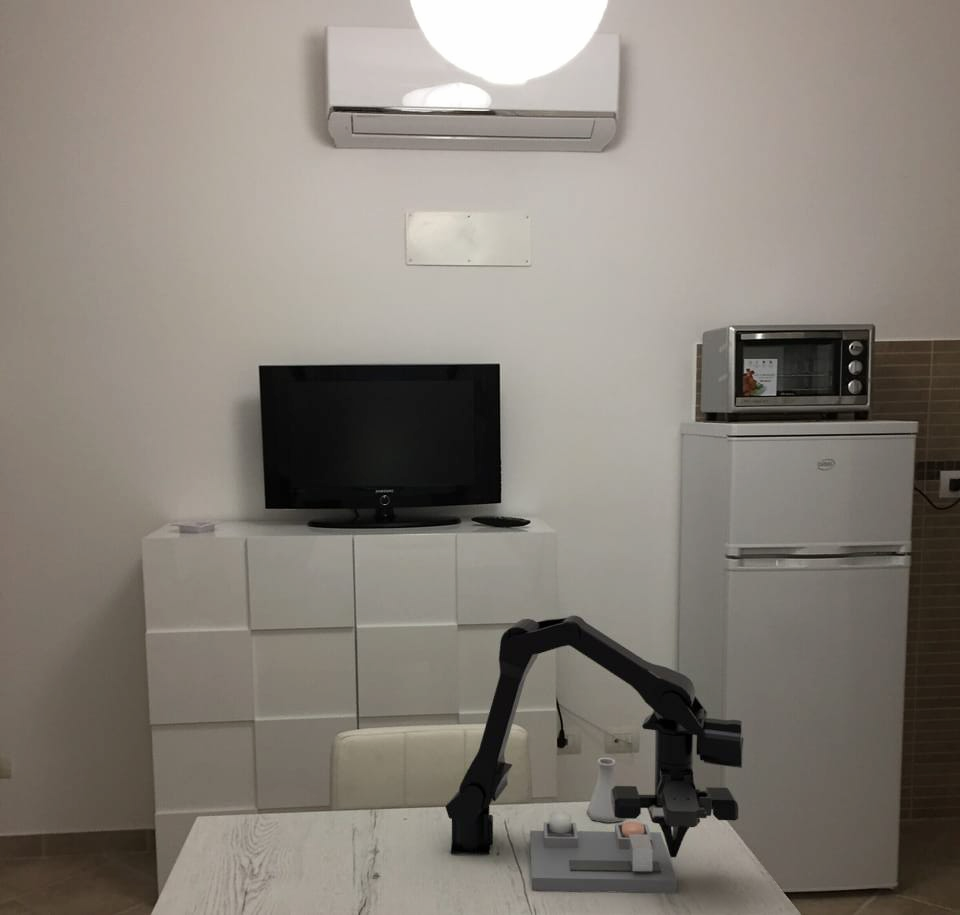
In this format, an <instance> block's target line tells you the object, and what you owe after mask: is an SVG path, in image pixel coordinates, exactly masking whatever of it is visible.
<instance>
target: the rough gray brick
mask: <svg viewBox="0 0 960 915" xmlns="http://www.w3.org/2000/svg"><path fill="white" fill-rule="evenodd" d="M629 859H630V863H631V867H632V871H652V845H651V842H650V839H649V836H648V835H640V834H629Z"/></svg>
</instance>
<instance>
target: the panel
mask: <svg viewBox="0 0 960 915" xmlns="http://www.w3.org/2000/svg"><path fill="white" fill-rule="evenodd" d="M624 823H625V822H621V823H620V822H619V823H618V822H614V831H603V830H602V831H597V830H596V831H590V830H589V831H587V830H584V831H583V830H580V831H579V830H578V829H577V823H576V822H571V830H570V831H569V832H566V833H556V832H553V831H551V830H550V821H549V822H543V830H529V845H530V847H529V849H530V874H531V876H530V878H531V879H530V882H531V891H532V890H538V891H539V892H546V891H547V892H587V891H589V892H593V891H595V892H596V891H600V892H601V893H602V892H603V893H604V891H611V892H610V893H613V892H612V891H616V893H647V892H648V893H653V894H655V893H656V894H657V893H658V894H660V893H663V894H678V892H677V891H678V880H677V876H676V874H675V871H674V868H673V865H672V862H671V858H670V857H669V856H670V855H669V852H668V851H667V850H668V849H667V846H666V844H665V841H664V839H663V838H664V837H663V834H662V832H659V831H658V832H657V831H656V832H655V831H650V828H649V825H648V823H641V824H642V825H643V826H644V835H648V836H649V839H650V842H651V845H652V871H632V867H631V863H630V859H629V838H622V825H623V824H624ZM538 891H537V892H538ZM619 891H621V892H619ZM600 892H599V893H600Z"/></svg>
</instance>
